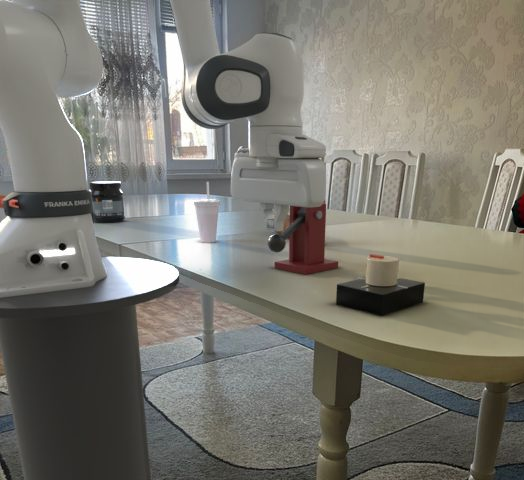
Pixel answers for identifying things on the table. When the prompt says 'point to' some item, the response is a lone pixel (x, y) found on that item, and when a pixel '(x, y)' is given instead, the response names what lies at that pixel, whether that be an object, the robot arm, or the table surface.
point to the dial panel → (379, 296)
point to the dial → (382, 270)
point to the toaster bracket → (307, 243)
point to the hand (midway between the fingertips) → (274, 230)
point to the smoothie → (207, 217)
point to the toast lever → (286, 232)
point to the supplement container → (107, 201)
